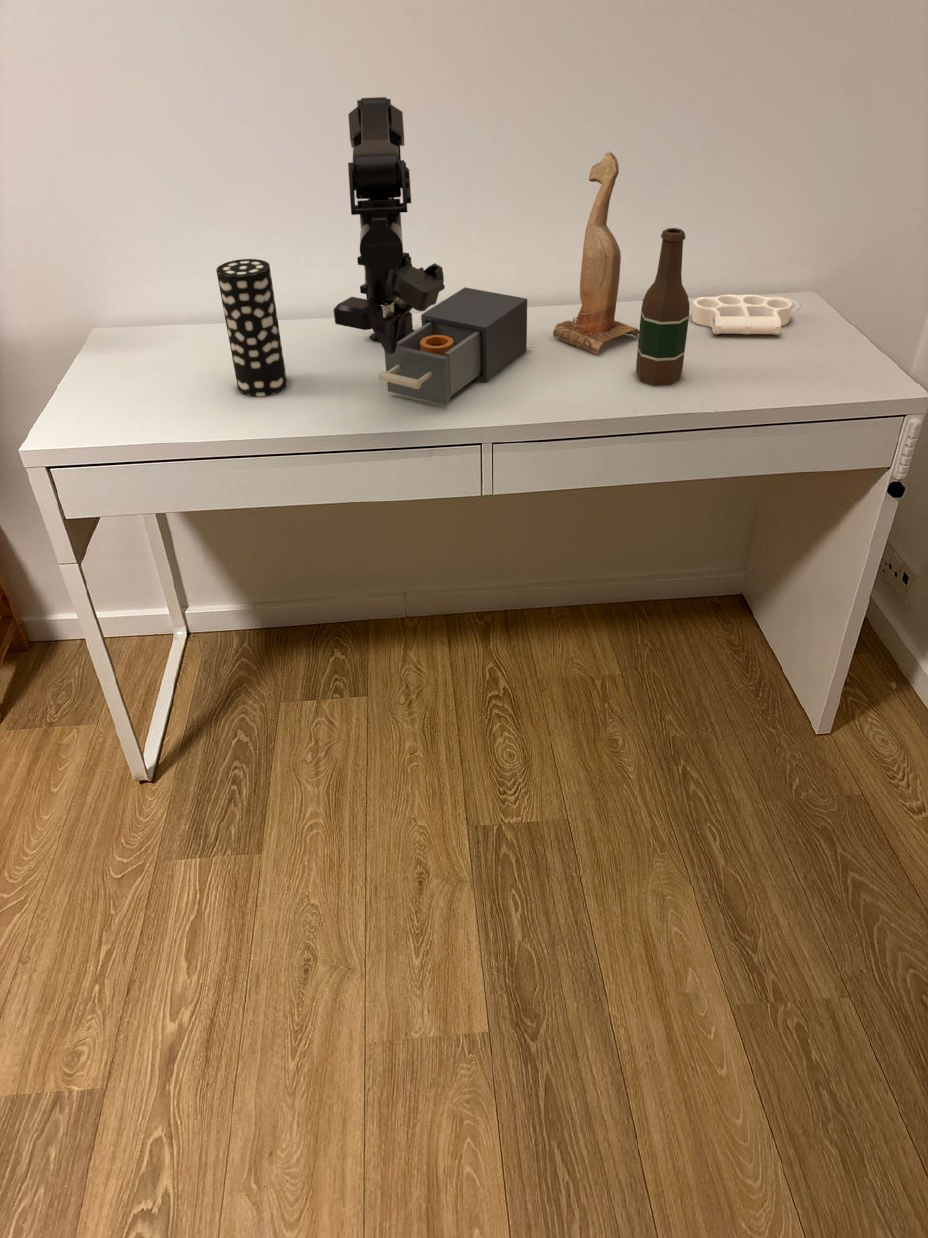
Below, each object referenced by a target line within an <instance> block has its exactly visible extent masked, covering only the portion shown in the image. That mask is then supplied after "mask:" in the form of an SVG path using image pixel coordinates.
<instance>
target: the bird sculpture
mask: <svg viewBox="0 0 928 1238" xmlns="http://www.w3.org/2000/svg"><path fill="white" fill-rule="evenodd" d="M619 168H620V166H619V161H618V158H617V157H616V155H615V154H614V153H613V152H611V151H609V150H607V151H606V152H605V154H604V156H603V158H602V160H601V161H599V162H596V163H595V164H593V166H592V167H591V168H590V171H589V175H588V176H589V177H588V181H589V182H592V183H594V182H595V183H599V184H600V188H599V189H598V192H597V193H596V195H595V199H594V202H593V204H592V207H591V210H590V213H589V217H588V220H587V224H586V228H585V231H584V233H585V234H584V240H583V250H582V257H581V258H582V259H581V268H580V276H579V277H580V279H579V297H580V302H581V307H580V310H579V312H578V314H577V315H576V317H573V318H572V320H566V321H562V322H560V323H557V324H556V325H555V326H554V329H553V331H552V337H554V338H556V339H558V340H561V341H562V342H566V343H568V344H570V345H572V346H575V347H576V348H581V349H582V350H585V351H587V352H589V353H593V354H595V355H599V353H600V350H601V349H602V346H603V345H604V343H606V342H608V341H610V340H612V339H615V338H617V337H620V336H622V335H624V334H626V335H629V336H630V335H632V336H633V337H636V338H637V339H639V329H638V328H636V327H633V326H631V325H628V324H625V323H622V322H621V321H617V320H615V319H616V317H615V316H616V309H617V302H618V294H619V284H620V277H621V276H620V275H621V263H622V261H621V260H622V254H621V253H622V252H621V249H620V246H619V244H618V242H617V239H616V238H615V236H614V234H613V232H612V231H611V230H610V228H609V227H608V224H607V222H608V216H609V215H608V214H609V208H610V202H611V197H612V193H613V189H614V187H615V184H616V179H617V178H618V175H619V171H620V169H619Z"/></svg>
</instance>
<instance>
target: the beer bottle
mask: <svg viewBox="0 0 928 1238" xmlns="http://www.w3.org/2000/svg"><path fill="white" fill-rule="evenodd" d="M660 237H661V239H662V240H661V247H660V253H659V258H658V266H657V272H656V275H655V279H654V282H653V283H652V284H651V285H650V287H649V288H648V289H647V290H646V292H645V295H644V297H643V299H642V304H641V310H640V319H639V329H638V330H639V334H638V340H637V341H638V342H637V351H636V363H635V365H636V366H635V372H636V376H638V377H637V378H638V379H639V381H640V382H641V383H644V384H645V383H646V384H647V385H651V386H653V387H654V386H655V387H657V386H671V385H673V384H674V383H677V382H678V381H679V380H681V377H682V375H683V368H684V361H685V353H686V344H687V336H688V329H689V328H688V327H689V320H690V306H691V305H690V301H689V296H688V292H687V291H686V289H685V288H684V286H683V280H682V279H683V278H682V270H683V269H682V268H683V251H684V249H683V248H684V241H685V240H686V232H685V231H684V230H683V229H681V228H677V227H669V228H665V229H663V230H662V232H661V234H660Z"/></svg>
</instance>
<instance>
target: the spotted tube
mask: <svg viewBox="0 0 928 1238" xmlns="http://www.w3.org/2000/svg"><path fill="white" fill-rule="evenodd" d="M215 272H216V276H217V282H218V287H219V292H220V298H221V304H222V309H223V315H224V321H225V325H226V331H227V335H228V336H227V337H228V342H229V347H230V352H231V358H232V363H233V369H234V374H235V380H236V385H237V390H238V392H239V393H240V394H242V395H244V396H249V397H267V396H272V395H275V394H278V393H280V392H282V391H283V390H285V389H286V388H287V386H288V380H287V372H286V366H285V359H284V352H283V347H282V339H281V333H280V332H281V331H280V326H279V319H278V313H277V307H276V299H275V293H274V292H275V291H274V285H273V279H272V273H271V265H270V263H269V262H268V261H266V260H262V259H258V258H241V259H234V260H230V261H227V262H224V263H222V264H220V265H218V266H217V268H216V271H215Z"/></svg>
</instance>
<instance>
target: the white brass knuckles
mask: <svg viewBox="0 0 928 1238" xmlns="http://www.w3.org/2000/svg"><path fill="white" fill-rule="evenodd" d="M792 307H793V303H792V301H790V300H789V299H787V298H784V297H779V296H776V297H769V296H762V295H759V294H751V293H748V294H732V293H728V294H721V295H718V296H701V297H697V298H695V299H694V301H693V303H692V311H691V321H692V322H693V323H695V324H697V325H699V326H704V327H709V328H711V329H712V333H713V334H714V335H719V334H725V335H726V334H727V335H728V334H729V335H730V334H734V335H735V334H736V335H773V336H777V335H780V334H781V332H782V331H781V330H782V327H783V326H786V325H788V324H789V323H790V319H791V314H792Z"/></svg>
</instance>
